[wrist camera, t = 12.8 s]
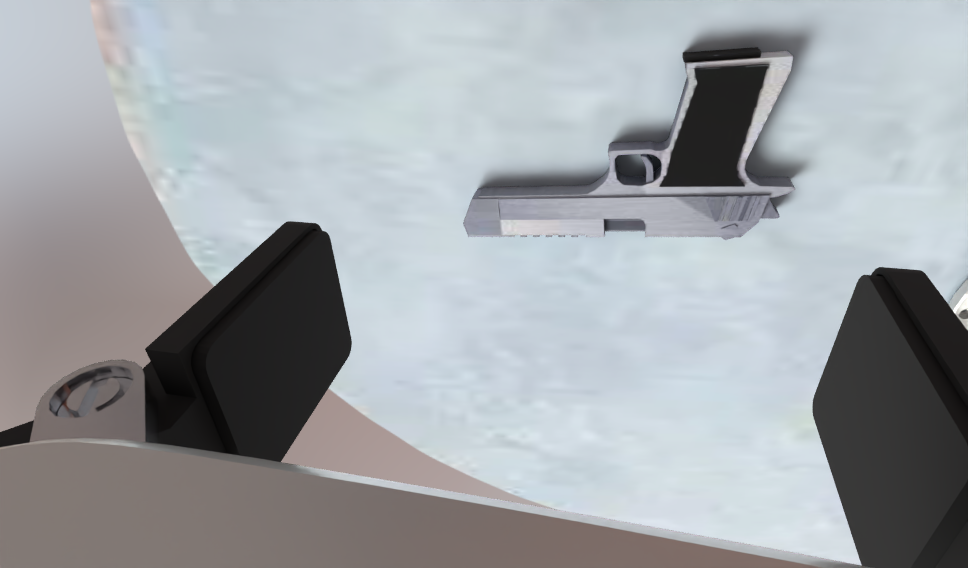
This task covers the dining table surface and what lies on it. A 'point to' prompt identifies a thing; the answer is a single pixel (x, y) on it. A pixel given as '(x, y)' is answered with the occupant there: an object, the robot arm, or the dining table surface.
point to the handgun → (666, 166)
